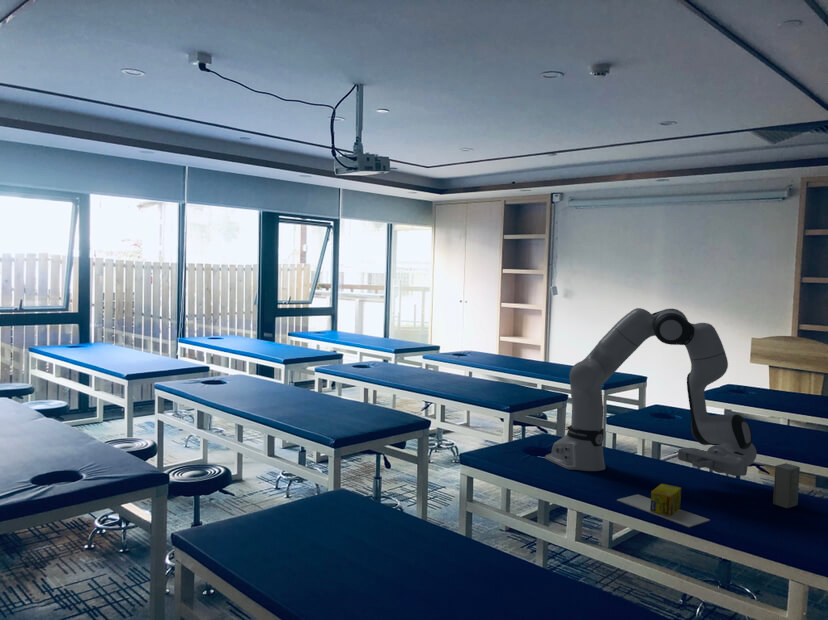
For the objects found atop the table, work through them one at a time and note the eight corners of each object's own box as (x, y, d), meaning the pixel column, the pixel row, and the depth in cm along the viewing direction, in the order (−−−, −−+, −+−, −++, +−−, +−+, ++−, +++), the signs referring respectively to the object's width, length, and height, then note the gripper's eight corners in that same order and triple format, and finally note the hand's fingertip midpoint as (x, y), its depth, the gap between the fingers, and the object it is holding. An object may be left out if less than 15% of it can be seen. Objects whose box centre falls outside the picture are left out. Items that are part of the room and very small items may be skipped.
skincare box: (783, 501, 194) (786, 462, 194) (798, 505, 191) (800, 466, 190) (772, 504, 191) (774, 465, 191) (786, 508, 187) (789, 469, 187)
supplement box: (681, 506, 185) (671, 516, 177) (661, 501, 189) (649, 511, 180) (682, 487, 185) (671, 496, 176) (661, 482, 189) (650, 491, 180)
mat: (616, 500, 190) (616, 499, 190) (637, 495, 195) (637, 494, 195) (689, 527, 170) (689, 526, 170) (710, 520, 175) (710, 519, 175)
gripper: (692, 441, 211) (667, 446, 204) (752, 457, 194) (728, 462, 187) (691, 459, 212) (666, 465, 204) (751, 476, 195) (727, 483, 187)
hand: (696, 464), depth 195 cm, fingers closed
